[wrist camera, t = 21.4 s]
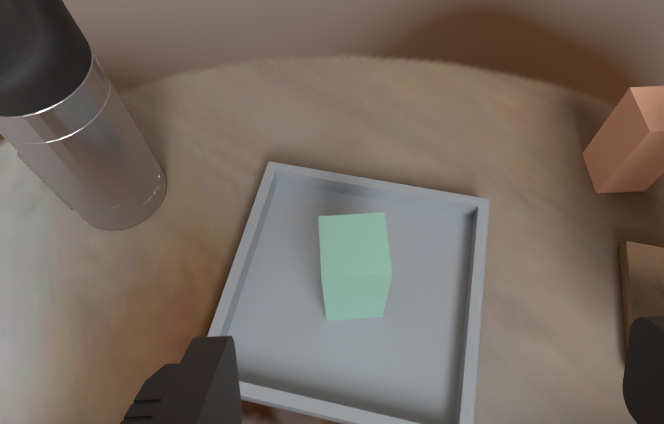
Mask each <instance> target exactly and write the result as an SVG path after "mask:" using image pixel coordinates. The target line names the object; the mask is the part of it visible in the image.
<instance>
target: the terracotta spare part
mask: <svg viewBox="0 0 664 424" xmlns="http://www.w3.org/2000/svg"><path fill="white" fill-rule="evenodd" d="M582 155H583V158H584V161H585V163H586V166H587V169H588V172H589V174H590V177H591V180H592V183H593V186H594V188H595V191H596V193H615V192H636V191H646V190H647V189H648V188H649V187H650V186H651V185H652V184H653V183H654V182H655V181H656V180H657V179H658V178H659V177H660V176H661V175H662V174H663V173H664V86H651V87H632V88H629V89H628V91H627V92H626V93H625V95H624V96H623V98H622V99H621V100H620V102H619V103H618V104H617V106H616V107H615V109H614V110H613V111H612V113H611V114H610V116H609V117H608V118H607V120H606V121H605V123H604V124H603V125H602V127H601V128H600V130H599V131H598V132H597V134H596V135H595V136H594V138H593V139H592V141H591V142H590V143H589V145H588V146H587V148H586V149H585V150H584V152H583V153H582Z"/></svg>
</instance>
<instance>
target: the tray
mask: <svg viewBox="0 0 664 424" xmlns="http://www.w3.org/2000/svg"><path fill="white" fill-rule="evenodd" d="M489 205H490V199H485V198H479V197H473V196H468V195H462V194H456V193H450V192H444V191H439V190H433V189H427V188H421V187H415V186H410V185H404V184H398V183H392V182H386V181H381V180H375V179H369V178H363V177H357V176H352V175H346V174H340V173H334V172H328V171H323V170H317V169H311V168H305V167H299V166H294V165H288V164H282V163H276V162H270V161H269V162H268V164H267V167H266V170H265V173H264V176H263V179H262V182H261V184H260V187H259V190H258V193H257V196H256V199H255V202H254V204H253V207H252V210H251V213H250V216H249V219H248V222H247V224H246V227H245V230H244V233H243V236H242V239H241V242H240V244H239V247H238V250H237V253H236V256H235V259H234V262H233V264H232V267H231V270H230V273H229V276H228V279H227V282H226V284H225V287H224V290H223V293H222V296H221V299H220V302H219V304H218V307H217V310H216V313H215V316H214V319H213V322H212V324H211V327H210V330H209V333H208V336H207V337H213V336H232V337H233V340H234V344H235V350H236V359H237V368H238V377H239V386H240V395H241V400H245V401H249V402H254V403H258V404H262V405H266V406H270V407H274V408H279V409H283V410H287V411H291V412H295V413H299V414H304V415H308V416H312V417H316V418H320V419H324V420H329V421H333V422H337V423H341V424H473V420H474V407H475V393H476V380H477V366H478V353H479V339H480V326H481V313H482V299H483V286H484V272H485V259H486V245H487V232H488V218H489ZM380 212H385V220H386V228H387V236H388V244H389V252H390V260H391V268H392V278H391V282H390V287H389V291H388V296H387V300H386V304H385V309H384V313H383V317H373V318H357V319H341V320H326V314H325V305H324V297H323V288H322V280H321V261H320V240H319V220H318V216H331V215H347V214H364V213H380Z"/></svg>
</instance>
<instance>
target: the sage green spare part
mask: <svg viewBox="0 0 664 424" xmlns="http://www.w3.org/2000/svg"><path fill="white" fill-rule="evenodd" d="M318 220H319V240H320V261H321V280H322V288H323V297H324V305H325V314H326V320H341V319H357V318H373V317H383V313H384V309H385V304H386V300H387V296H388V291H389V287H390V282H391V278H392V268H391V260H390V252H389V244H388V236H387V228H386V220H385V212H380V213H364V214H347V215H331V216H318Z"/></svg>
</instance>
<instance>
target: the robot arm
mask: <svg viewBox="0 0 664 424" xmlns="http://www.w3.org/2000/svg"><path fill="white" fill-rule="evenodd" d="M0 134H1V135H2V136H3V137H4V138H5V139H6V140H7V141H8V142H9V143H10V144H11V145H12V146H13V147H14V148H15V149H16V150H17V151H18V156H19V158H20V159H21V160H22V161H23V162H24V163H25V164H26V165H27V166H28V167H29V168H30V169H31V170H32V171H33V172H34V173H35V174H36V175H37V176H38V177H39V178H40V179H41V180H42V181H43V182H44V183H45V184H46V185H47V186H48V187H49V188H50V189H51V190H52V191H53V192H54V193H55V194H56V195H57V196H58V197H59V198H60V199H61V200H62V201H63V202H64V203H65V204H66V205H67V206H68V207H69V208H70V209H74V210H76V211H77V212H78V213H79V214H80V215H81V216H82V217H83V218H84V219H85V220H86V221H87V222H88V223H89V224H91V225H93V226H95V227H97V228H100V229H105V230H119V229H125V228H128V227H131V226H134V225H136V224H138V223H140V222H142V221H143V220H145V219H146V218H148V217H149V216H150V215H151V214H152V213H153V212H154V211H155V210H156V209H157V208H158V207H159V205H160V203H161V202H162V200H163V198H164V195H165V192H166V178H165V175H164V173H163V171H162V169H161V167H160V165H159V164H158V162H157V160H156V159H155V157H154V155H153V153H152V152H151V150H150V148H149V146H148V145H147V143H146V141H145V139H144V138H143V136H142V134H141V133H140V131H139V129H138V127H137V126H136V124H135V122H134V121H133V119H132V117H131V115H130V114H129V112H128V110H127V109H126V107H125V105H124V103H123V102H122V100H121V98H120V97H119V95H118V93H117V92H116V90H115V88H114V86H113V85H112V83H111V81H110V80H109V78H108V76H107V75H106V73H105V71H104V70H103V68H102V66H101V64H100V63H99V61H98V59H97V58H96V56H95V54H94V52H93V51H92V49H91V47H90V46H89V44H88V42H87V41H86V39H85V37H84V35H83V34H82V32H81V31H80V29H79V27H78V26H77V24H76V23H75V21H74V19H73V18H72V16H71V15H70V13H69V11H68V10H67V8H66V6H65V5H64V3H63V1H62V0H0ZM623 396H624V400H625V403H626V406H627V409H628V411H629V413H630V414H631V416H632V417H633V419H634V420H635V421H636V422H637V423H638V424H664V316H650V317H638V318H636V319H635V320H634V321H633V323H632V325H631V328H630V333H629V341H628V348H627V356H626V363H625V371H624V378H623ZM241 421H242V405H241V395H240V386H239V377H238V368H237V359H236V350H235V344H234V340H233V337H232V336H213V337H195V338H193V339H192V341H191V343H190V345H189V347H188V349H187V351H186V352H185V354H184V356H183V358H182V360H181V362H180V364H166V365H164V366H163V367H162V368H161V369H159V370H158V371H157V372H156V373H155V374H153V375H152V376H151V377H150V378H149V379H147V380H146V381H145V383H144V384H143V386H142V388H141V389H140V391H139V393H138V394H137V396H136V398H135V399H134V404H131V406H130V408H129V409H128V411H127V413H126V415H125V416H124V421H121V423H120V424H241Z"/></svg>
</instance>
